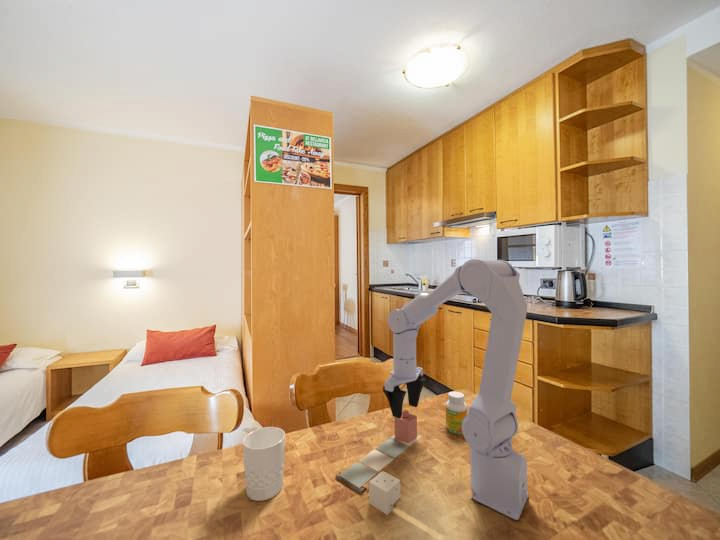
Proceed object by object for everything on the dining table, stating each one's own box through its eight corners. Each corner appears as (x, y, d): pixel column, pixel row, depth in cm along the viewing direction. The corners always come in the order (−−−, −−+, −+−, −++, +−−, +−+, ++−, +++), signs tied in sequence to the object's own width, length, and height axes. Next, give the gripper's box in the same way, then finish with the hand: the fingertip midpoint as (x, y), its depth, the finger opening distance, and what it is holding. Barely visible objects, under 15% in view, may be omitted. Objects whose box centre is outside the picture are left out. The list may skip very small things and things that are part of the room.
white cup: (266, 470, 64) (266, 423, 64) (294, 483, 60) (293, 433, 60) (234, 494, 57) (233, 441, 57) (262, 510, 53) (262, 453, 53)
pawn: (417, 436, 75) (416, 409, 75) (408, 443, 72) (408, 415, 72) (403, 430, 77) (403, 405, 77) (394, 437, 74) (394, 410, 74)
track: (424, 439, 74) (424, 436, 74) (361, 494, 56) (361, 490, 56) (400, 430, 79) (400, 427, 79) (335, 478, 61) (335, 474, 61)
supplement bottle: (445, 435, 76) (445, 397, 77) (446, 425, 82) (445, 389, 82) (468, 438, 75) (467, 399, 75) (467, 427, 80) (466, 391, 80)
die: (400, 502, 54) (400, 479, 55) (387, 515, 51) (387, 492, 52) (382, 491, 57) (382, 470, 57) (369, 504, 54) (369, 481, 54)
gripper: (406, 348, 83) (407, 397, 83) (374, 360, 72) (374, 416, 72) (429, 352, 78) (430, 404, 78) (398, 366, 67) (399, 426, 67)
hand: (405, 411), depth 75 cm, fingers open, 7 cm apart
